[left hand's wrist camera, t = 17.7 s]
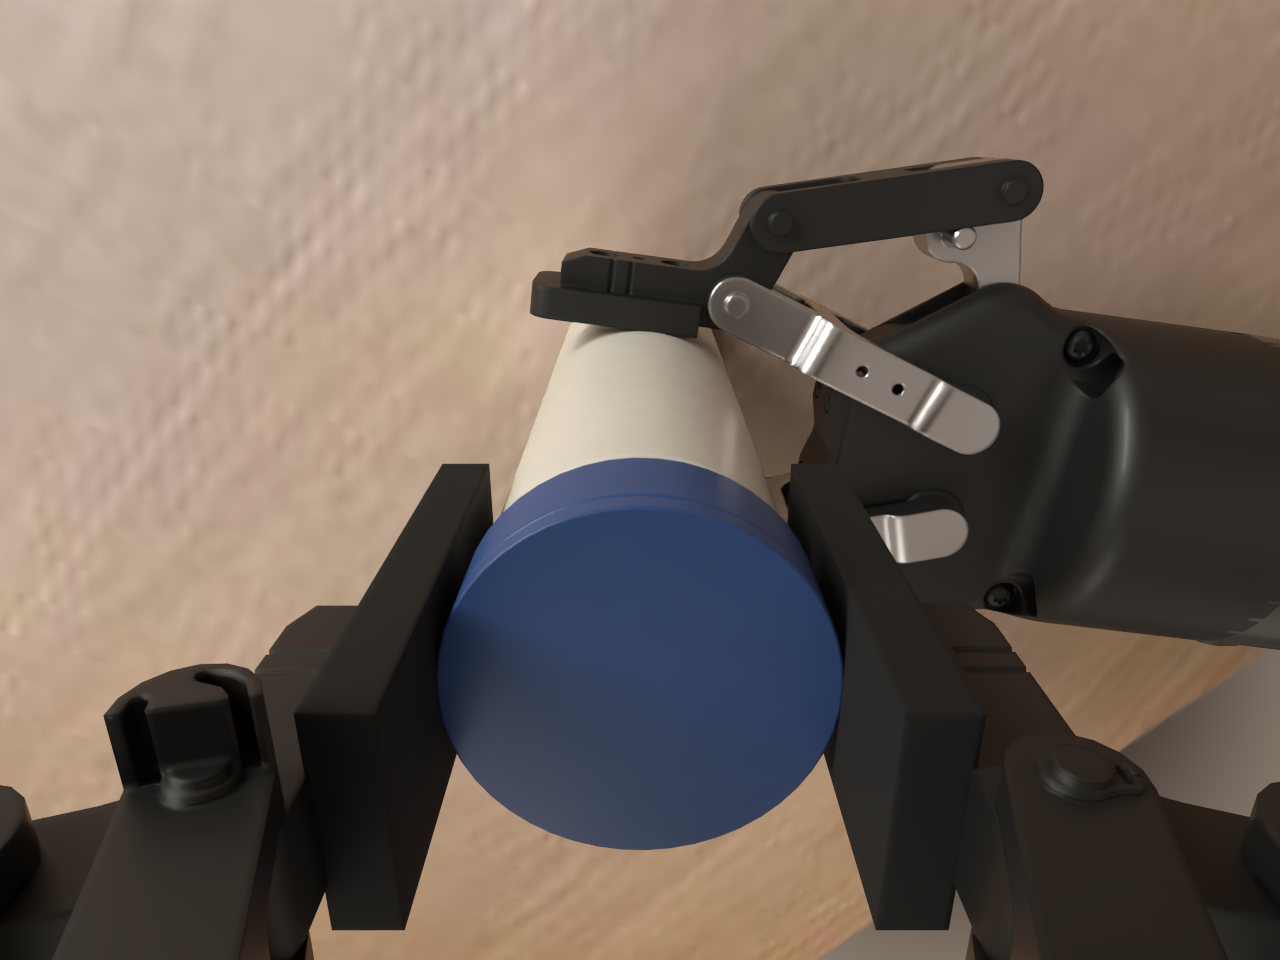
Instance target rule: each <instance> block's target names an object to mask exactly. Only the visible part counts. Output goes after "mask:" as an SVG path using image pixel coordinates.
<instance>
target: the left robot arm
mask: <svg viewBox="0 0 1280 960" xmlns="http://www.w3.org/2000/svg"><path fill="white" fill-rule="evenodd" d="M492 525H493V513H492V499H491V484H490V470H489V464H442V466H441V467H440V469H439V471H438V473H437V474H436V476H435V478H434V479H433V481H432V483H431V484H430V486H429V488H428V489H427V491H426V493H425V494H424V496H423V498H422V499H421V501H420V503H419V504H418V506H417V508H416V509H415V511H414V513H413V514H412V516H411V518H410V519H409V521H408V523H407V524H406V526H405V528H404V529H403V531H402V533H401V534H400V536H399V538H398V539H397V541H396V543H395V545H394V546H393V548H392V550H391V551H390V553H389V555H388V556H387V558H386V560H385V561H384V563H383V565H382V566H381V568H380V570H379V571H378V573H377V575H376V576H375V578H374V580H373V581H372V583H371V585H370V586H369V588H368V590H367V591H366V593H365V595H364V596H363V598H362V600H361V601H360V603H359V605H358V606H316V607H314V608H313V609H311V610H310V611H308V612H307V613H305V614H304V615H302V616H301V617H300V618H298V619H297V620H295V621H294V622H292V623H291V624H289V625H288V626H286V628H285V629H284V631H283V632H282V633H281V635H280V636H279V638H278V639H277V640H276V642H275V643H274V644H273V646H272V647H271V649H270V650H269V655H266V656H265V657H264V658H263V660H262V661H261V663H260V664H259V665H258V667H257V668H256V670H255V674H254V673H253V672H252V671H250V670H249V669H248V668H243V667H239V666H235V665H231V664H199V665H195V666H190V667H186V668H181V669H177V670H172V671H169V672H166V673H164V674H162V675H159V676H157V677H154V678H152V679H149V680H147V681H144V682H142V683H140V684H139V685H137V686H136V687H134V688H133V689H131V690H130V691H128V692H127V693H125V694H124V695H122V696H121V697H119V698H118V699H117V700H116V701H115V703H114V704H113V705H112V706H111V707H110V709H109V710H108V711H107V712H106V713H105V714H104V720H105V723H106V727H107V731H108V734H109V738H110V741H111V745H112V749H113V752H114V756H115V760H116V763H117V767H118V770H119V774H120V778H121V781H122V785H123V788H124V791H123V793H122V796H121V798H120V800H119V801H115V802H112V803H108V804H105V805H101V806H97V807H93V808H88V809H84V810H79V811H74V812H70V813H65V814H60V815H56V816H51V817H47V818H42V819H37V820H33V821H32V819H31V816H30V813H29V810H28V807H27V804H26V801H25V798H24V797H23V796H22V795H20V794H19V793H18V792H17V791H15V790H14V789H13V788H12V787H8V786H2V785H0V960H314V956H313V950H312V944H311V938H310V933H309V929H310V926H311V924H312V922H313V919H314V917H315V914H316V912H317V910H318V907H319V905H320V902H321V900H322V898H323V895H324V893H326V899H327V905H328V910H329V916H330V921H331V927H332V930H405V927H406V924H407V920H408V917H409V913H410V910H411V907H412V903H413V900H414V897H415V893H416V890H417V886H418V883H419V880H420V876H421V873H422V869H423V866H424V863H425V859H426V856H427V853H428V849H429V846H430V842H431V839H432V836H433V832H434V829H435V825H436V822H437V819H438V815H439V812H440V809H441V805H442V802H443V798H444V795H445V792H446V788H447V785H448V781H449V778H450V775H451V771H452V768H453V765H454V761H455V758H456V754H457V753H456V751H455V749H454V747H453V745H452V744H451V742H450V739H449V737H448V734H447V731H446V729H445V726H444V724H443V721H442V717H441V711H440V703H439V693H438V683H437V655H438V650H439V646H440V642H441V638H442V634H443V630H444V627H445V625H446V622H447V620H448V617H449V615H450V612H451V610H452V607H453V605H454V602H455V600H456V597H457V595H458V592H459V589H460V587H461V584H462V582H463V579H464V577H465V574H466V572H467V569H468V567H469V565H470V562H471V560H472V557H473V555H474V553H475V550H476V549H477V547H478V545H479V544H480V542H481V541H482V539H483V537H484V536H485V534H486V532H487V531H488V530H489V528H490V527H491V526H492ZM787 525H788V526H789V527H790V529H791V530H792V531H793V533H794V534H795V536H796V537H797V538H798V540H799V542H800V544H801V545H802V547H803V549H804V551H805V553H806V555H807V557H808V559H809V561H810V564H811V566H812V569H813V571H814V574H815V576H816V579H817V582H818V584H819V587H820V589H821V592H822V594H823V597H824V599H825V602H826V604H827V607H828V609H829V612H830V614H831V617H832V620H833V622H834V625H835V628H836V631H837V634H838V637H839V640H840V645H841V651H842V657H843V662H844V676H843V688H842V698H841V707H840V713H839V717H838V720H837V723H836V727H835V730H834V732H833V735H832V737H831V739H830V741H829V743H828V745H827V747H826V749H825V752H824V756H825V759H826V763H827V766H828V770H829V773H830V776H831V780H832V783H833V786H834V790H835V793H836V797H837V800H838V803H839V807H840V810H841V814H842V817H843V820H844V824H845V827H846V830H847V834H848V837H849V841H850V844H851V847H852V851H853V854H854V858H855V861H856V864H857V868H858V871H859V874H860V878H861V881H862V885H863V888H864V891H865V895H866V898H867V902H868V905H869V908H870V912H871V915H872V918H873V922H874V925H875V928H876V930H949V924H950V919H951V913H952V908H953V902H954V896H955V891H956V890H957V892H958V894H959V897H960V899H961V901H962V904H963V906H964V909H965V911H966V913H967V916H968V918H969V921H970V923H971V925H972V928H971V933H970V939H969V944H968V949H967V954H966V959H965V960H1280V782H1276V783H1271V784H1269V785H1268V786H1267V787H1266V788H1264V789H1263V790H1262V791H1261V792H1259V793H1258V794H1257V798H1256V800H1255V804H1254V806H1253V809H1252V813H1251V816H1250V817H1246V816H1242V815H1237V814H1233V813H1228V812H1224V811H1219V810H1214V809H1210V808H1205V807H1200V806H1195V805H1191V804H1186V803H1182V802H1178V801H1175V800H1171V799H1168V798H1164V797H1161V796H1159V794H1158V792H1157V789H1156V788H1155V786H1154V785H1153V784H1152V782H1151V781H1150V779H1149V778H1148V777H1147V775H1146V774H1145V772H1144V771H1143V770H1142V769H1141V768H1140V767H1138V766H1137V765H1136V764H1134V763H1133V762H1132V761H1130V760H1129V759H1128V758H1126V757H1125V756H1124V755H1123V754H1121V753H1119V752H1117V751H1115V750H1113V749H1111V748H1109V747H1107V746H1105V745H1102V744H1100V743H1098V742H1096V741H1094V740H1090V739H1086V738H1082V737H1078V736H1075V734H1074V733H1073V731H1072V730H1071V729H1070V727H1069V726H1068V724H1067V723H1066V722H1065V720H1064V719H1063V718H1062V716H1061V715H1060V713H1059V712H1058V711H1057V709H1056V708H1055V706H1054V705H1053V704H1052V702H1051V701H1050V700H1049V698H1048V697H1047V695H1046V694H1045V693H1044V691H1043V690H1042V689H1041V687H1040V686H1039V684H1038V683H1037V682H1036V680H1035V679H1034V677H1033V676H1032V675H1031V673H1030V672H1026V666H1025V665H1024V664H1023V662H1022V661H1021V659H1020V658H1019V657H1018V655H1017V654H1016V653H1015V652H1012V647H1011V646H1010V644H1009V643H1008V641H1007V640H1006V639H1005V637H1004V636H1003V635H1002V633H1001V632H1000V630H999V629H998V628H997V626H996V625H995V623H993V622H992V621H990V620H989V619H987V618H986V617H984V616H983V615H981V614H980V613H978V612H977V611H975V610H974V609H972V608H971V607H969V606H968V605H966V604H965V603H921V602H920V600H919V599H918V597H917V595H916V594H915V592H914V590H913V589H912V587H911V585H910V584H909V582H908V580H907V579H906V577H905V575H904V574H903V572H902V570H901V569H900V567H899V565H898V564H897V562H896V560H895V559H894V557H893V555H892V554H891V552H890V550H889V549H888V547H887V545H886V544H885V542H884V540H883V539H882V537H881V535H880V534H879V532H878V530H877V529H876V527H875V525H874V523H873V522H872V520H871V518H870V517H869V515H868V513H867V512H866V510H865V508H864V507H863V505H862V503H861V502H860V500H859V498H858V497H857V495H856V493H855V492H854V490H853V488H852V487H851V485H850V483H849V482H848V480H847V478H846V477H845V475H844V473H843V472H842V470H841V468H840V467H839V465H838V464H791V477H790V492H789V506H788V521H787Z"/></svg>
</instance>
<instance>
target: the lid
mask: <svg viewBox="0 0 1280 960" xmlns="http://www.w3.org/2000/svg"><path fill="white" fill-rule="evenodd" d="M843 676H844V662H843V657H842V651H841V645H840V640H839V637H838V634H837V631H836V628H835V625H834V622H833V620H832V617H831V614H830V612H829V609H828V607H827V604H826V602H825V599H824V597H823V594H822V592H821V589H820V587H819V584H818V582H817V579H816V576H815V574H814V571H813V569H812V566H811V564H810V561H809V559H808V557H807V555H806V553H805V551H804V549H803V547H802V545H801V544H800V542H799V540H798V538H797V537H796V536H795V534H794V533H793V531H792V530H791V529H790V527H789V526H788V525H787V523H786V522H785V521H784V520H783V519H782V518H781V517H780V516H779V515H778V514H777V513H776V511H775V510H774V509H773V508H772V507H771V506H770V505H768V504H767V503H766V502H765V501H763V500H762V499H761V498H760V497H758V496H757V495H756V494H754V493H753V492H752V491H750V490H749V489H747V488H745V487H744V486H742V485H740V484H739V483H737V482H735V481H733V480H732V479H730V478H728V477H725V476H723V475H720V474H718V473H716V472H713V471H711V470H709V469H706V468H702V467H699V466H695V465H692V464H688V463H685V462H679V461H672V460H666V459H659V458H625V459H614V460H606V461H602V462H597V463H592V464H588V465H583V466H581V467H578V468H575V469H572V470H569V471H567V472H564V473H561V474H559V475H557V476H555V477H553V478H551V479H549V480H547V481H545V482H543V483H541V484H539V485H537V486H536V487H535V488H533V489H532V490H530V491H529V492H527V493H526V494H524V495H523V496H521V497H520V498H519V499H517V500H516V501H515V502H514V503H513V504H512V505H511V506H510V507H509V508H508V509H506V510H505V511H504V512H503V513H502V514H501V515H500V516H499V518H498V519H497V520H496V521H495V522H494V524H493V525H492V526H491V527H490V528H489V530H488V531H487V532H486V534H485V536H484V537H483V539H482V541H481V542H480V544H479V545H478V547H477V549H476V550H475V553H474V555H473V557H472V560H471V562H470V565H469V567H468V569H467V572H466V574H465V577H464V579H463V582H462V584H461V587H460V589H459V592H458V595H457V597H456V600H455V602H454V605H453V607H452V610H451V612H450V615H449V617H448V620H447V622H446V625H445V627H444V630H443V634H442V638H441V642H440V646H439V650H438V655H437V683H438V693H439V703H440V711H441V717H442V721H443V724H444V726H445V729H446V731H447V734H448V737H449V739H450V742H451V744H452V745H453V747H454V749H455V751H456V753H457V754H458V756H459V758H460V760H461V761H462V763H463V764H464V765H465V767H466V768H467V769H468V771H469V772H470V773H471V775H472V776H473V777H474V779H475V780H476V781H477V782H478V783H479V784H480V785H481V786H482V787H483V788H484V789H485V790H486V791H487V792H488V793H489V794H490V795H491V796H492V797H493V798H495V799H496V800H497V801H498V802H500V803H501V804H502V805H503V806H505V807H506V808H507V809H508V810H510V811H511V812H513V813H515V814H516V815H518V816H520V817H521V818H523V819H524V820H526V821H528V822H529V823H531V824H533V825H535V826H538V827H540V828H542V829H544V830H546V831H548V832H550V833H553V834H556V835H559V836H562V837H564V838H567V839H570V840H573V841H577V842H581V843H586V844H590V845H594V846H599V847H607V848H615V849H628V850H652V849H665V848H674V847H679V846H685V845H691V844H696V843H699V842H702V841H706V840H709V839H713V838H716V837H719V836H722V835H724V834H727V833H729V832H731V831H734V830H736V829H739V828H741V827H743V826H745V825H746V824H748V823H750V822H752V821H754V820H756V819H758V818H759V817H761V816H763V815H764V814H765V813H767V812H768V811H770V810H771V809H773V808H774V807H775V806H777V805H778V804H780V803H781V802H782V801H783V800H784V799H785V798H786V797H788V796H789V795H790V794H791V793H792V792H793V791H794V790H795V789H796V788H797V787H798V786H799V785H800V784H801V783H802V782H803V780H804V779H805V778H806V777H807V776H808V775H809V774H810V772H811V771H812V770H813V768H814V767H815V765H816V764H817V762H818V761H819V759H820V758H821V756H822V755H823V753H824V752H825V749H826V747H827V745H828V743H829V741H830V739H831V737H832V735H833V732H834V730H835V727H836V723H837V720H838V717H839V713H840V707H841V698H842V688H843Z"/></svg>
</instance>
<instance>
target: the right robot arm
mask: <svg viewBox="0 0 1280 960" xmlns="http://www.w3.org/2000/svg"><path fill="white" fill-rule="evenodd" d="M1042 194H1043V179H1042V176H1041V174H1040V172H1039V170H1038V169H1037V168H1036V167H1035V166H1034V165H1033V164H1031V163H1029V162H1027V161H1022V160H1011V159H1001V158H982V157H971V158H964V159H957V160H949V161H942V162H935V163H928V164H921V165H914V166H907V167H900V168H893V169H886V170H879V171H871V172H864V173H857V174H850V175H843V176H836V177H829V178H822V179H815V180H808V181H801V182H793V183H786V184H779V185H772V186H765V187H760V188H757V189H755V190H753V191H751V192H750V193H749V194H748V195H747V196H746V197H745V198H744V200H743V202H742V204H741V207H740V212H739V218H738V220H737V222H736V224H735V225H734V227H733V229H732V231H731V233H730V235H729V236H728V238H727V240H726V242H725V244H724V245H723V247H722V248H721V249H720V250H719V251H718V252H717V253H716V254H715V255H713V256H712V257H710V258H708V259H705V260H702V261H695V262H694V261H684V260H676V259H669V258H662V257H654V256H647V255H640V254H631V253H625V252H618V251H610V250H603V249H596V248H586V249H583V250H579V251H575V252H571V253H567V254H566V256H565V258H564V259H563V261H562V267H561V272H555V271H542V272H539V273H538V274H537V276H536V277H535V278H534V280H533V283H532V295H531V306H530V313H531V314H532V315H534V316H537V317H541V318H546V319H553V320H560V321H568V322H576V323H583V324H591V325H598V326H606V327H614V328H621V329H629V330H636V331H644V332H655V333H661V334H667V335H674V336H682V337H689V338H697V334H698V328H699V327H704V328H712V329H719V330H723V331H725V332H727V333H729V334H731V335H733V336H735V337H737V338H739V339H741V340H743V341H745V342H747V343H749V344H751V345H753V346H755V347H757V348H759V349H762V350H764V351H766V352H768V353H770V354H772V355H774V356H776V357H778V358H780V359H782V360H784V361H786V362H787V363H789V364H791V365H792V366H794V367H795V368H797V369H798V370H799V371H801V372H802V373H804V374H805V375H807V376H809V377H811V378H812V379H814V380H816V383H815V387H814V392H813V405H814V422H815V424H814V428H813V430H812V432H811V434H810V436H809V438H808V440H807V442H806V444H805V446H804V448H803V450H802V452H801V454H800V458H799V462H798V464H838V465H839V467H840V468H841V470H842V472H843V473H844V475H845V477H846V478H847V480H848V482H849V483H850V485H851V487H852V488H853V490H854V492H855V493H856V495H857V497H858V498H859V500H860V502H861V503H862V505H863V507H864V508H865V510H866V512H867V513H868V515H869V517H870V518H871V520H872V522H873V523H874V525H875V527H876V529H877V530H878V532H879V534H880V535H881V537H882V539H883V540H884V542H885V544H886V545H887V547H888V549H889V550H890V552H891V554H892V555H893V557H894V559H895V560H896V562H897V564H898V565H899V567H900V569H901V570H902V572H903V574H904V575H905V577H906V579H907V580H908V582H909V584H910V585H911V587H912V589H913V590H914V592H915V594H916V595H917V597H918V599H919V600H920V602H921V603H965V604H966V605H968V606H969V607H971V608H972V609H974V610H975V609H988V610H993V611H998V612H1002V613H1006V614H1009V615H1013V616H1017V617H1020V618H1024V619H1028V620H1033V621H1039V622H1046V623H1054V624H1063V625H1071V626H1080V627H1089V628H1097V629H1106V630H1114V631H1123V632H1131V633H1140V634H1148V635H1157V636H1166V637H1174V638H1183V639H1191V640H1196V641H1199V642H1203V643H1206V644H1211V645H1217V646H1237V645H1243V646H1252V647H1260V648H1269V649H1278V650H1280V339H1277V338H1270V337H1262V336H1255V335H1249V334H1242V333H1234V332H1227V331H1219V330H1212V329H1205V328H1197V327H1190V326H1182V325H1175V324H1168V323H1160V322H1153V321H1145V320H1138V319H1131V318H1123V317H1116V316H1108V315H1101V314H1094V313H1086V312H1079V311H1071V310H1064V309H1059V308H1055V307H1052V306H1051V305H1049V304H1048V303H1047V302H1045V301H1044V300H1043V299H1042V298H1041V297H1040V296H1039V295H1038V294H1036V293H1035V292H1034V291H1032V290H1031V289H1029V288H1027V287H1025V286H1022V285H1020V262H1021V226H1022V219H1023V218H1025V217H1027V216H1028V215H1029V214H1031V213H1032V212H1033V211H1034V210H1035V208H1036V207H1037V206H1038V204H1039V202H1040V200H1041V197H1042ZM906 236H914V241H915V244H916V246H917V247H918V249H919V250H920V251H921V252H922V253H924V254H926V255H928V256H930V257H933V258H935V259H937V260H940V261H942V262H947V263H957V264H958V265H959V266H960V268H961V269H962V272H963V275H964V282H962V283H960V284H958V285H956V286H954V287H952V288H950V289H948V290H946V291H944V292H942V293H940V294H939V295H937V296H935V297H933V298H931V299H929V300H927V301H925V302H923V303H921V304H919V305H917V306H915V307H913V308H911V309H909V310H907V311H905V312H903V313H901V314H899V315H897V316H895V317H893V318H891V319H890V320H888V321H886V322H884V323H882V324H880V325H878V326H876V327H874V328H872V329H868V328H866V327H864V326H862V325H860V324H858V323H856V322H854V321H852V320H850V319H848V318H846V317H844V316H842V315H840V314H838V313H836V312H834V311H832V310H830V309H828V308H827V307H825V306H823V305H821V304H819V303H817V302H815V301H813V300H811V299H809V298H806V297H804V296H800V295H798V294H796V293H794V292H792V291H790V290H788V289H786V288H784V287H782V286H780V285H778V284H776V281H777V280H778V278H779V276H780V274H781V273H782V271H783V269H784V267H785V266H786V264H787V262H788V260H789V259H790V257H791V255H792V253H793V252H796V251H804V250H811V249H818V248H825V247H833V246H840V245H847V244H855V243H862V242H869V241H877V240H884V239H891V238H898V237H906ZM790 477H791V473H789V474H784V475H778V476H773V477H767V478H766V481H767V483H768V486H769V489H770V492H771V494H772V497H773V500H774V503H775V505H776V508H777V511H778V514H779V516H780V517H781V518H782V519H783V520H784V521H785V522H786V523H787V521H788V506H789V492H790Z"/></svg>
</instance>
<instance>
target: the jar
mask: <svg viewBox="0 0 1280 960" xmlns="http://www.w3.org/2000/svg"><path fill="white" fill-rule="evenodd" d="M625 458H659V459H666V460H672V461H679V462H685V463H688V464H692V465H695V466H699V467H702V468H706V469H709V470H711V471H713V472H716V473H718V474H720V475H723V476H725V477H728V478H730V479H732V480H733V481H735V482H737V483H739V484H740V485H742V486H744V487H745V488H747V489H749V490H750V491H752V492H753V493H754V494H756V495H757V496H758V497H760V498H761V499H762V500H763V501H765V502H766V503H767V504H768V505H770V506H771V507H772V508H773V509H774V510H775V511H776V513H777V514H778V511H777V508H776V505H775V503H774V500H773V497H772V494H771V492H770V489H769V486H768V483H767V481H766V478H765V475H764V472H763V469H762V467H761V464H760V461H759V458H758V456H757V453H756V450H755V447H754V445H753V442H752V439H751V436H750V434H749V431H748V428H747V425H746V423H745V420H744V417H743V414H742V412H741V409H740V406H739V403H738V401H737V398H736V395H735V392H734V390H733V387H732V384H731V381H730V379H729V376H728V373H727V370H726V368H725V365H724V362H723V359H722V357H721V354H720V351H719V348H718V346H717V343H716V340H715V337H714V335H713V332H712V329H711V328H704V327H699V328H698V334H697V338H689V337H682V336H674V335H667V334H661V333H655V332H644V331H636V330H629V329H621V328H614V327H606V326H598V325H591V324H583V323H576V322H572V323H571V325H570V328H569V330H568V333H567V336H566V338H565V341H564V344H563V347H562V349H561V352H560V355H559V357H558V360H557V363H556V366H555V368H554V371H553V374H552V377H551V379H550V382H549V385H548V388H547V390H546V393H545V396H544V399H543V401H542V404H541V407H540V410H539V412H538V415H537V418H536V420H535V423H534V426H533V429H532V431H531V434H530V437H529V440H528V442H527V445H526V448H525V451H524V453H523V456H522V459H521V462H520V464H519V467H518V470H517V472H516V475H515V478H514V481H513V483H512V486H511V489H510V492H509V494H508V497H507V500H506V503H505V505H504V508H503V511H502V513H503V512H504V511H505V510H506V509H508V508H509V507H510V506H511V505H512V504H513V503H514V502H515V501H516V500H517V499H519V498H520V497H521V496H523V495H524V494H526V493H527V492H529V491H530V490H532V489H533V488H535V487H536V486H537V485H539V484H541V483H543V482H545V481H547V480H549V479H551V478H553V477H555V476H557V475H559V474H561V473H564V472H567V471H569V470H572V469H575V468H578V467H581V466H583V465H588V464H592V463H597V462H602V461H606V460H614V459H625ZM778 515H779V514H778Z"/></svg>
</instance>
